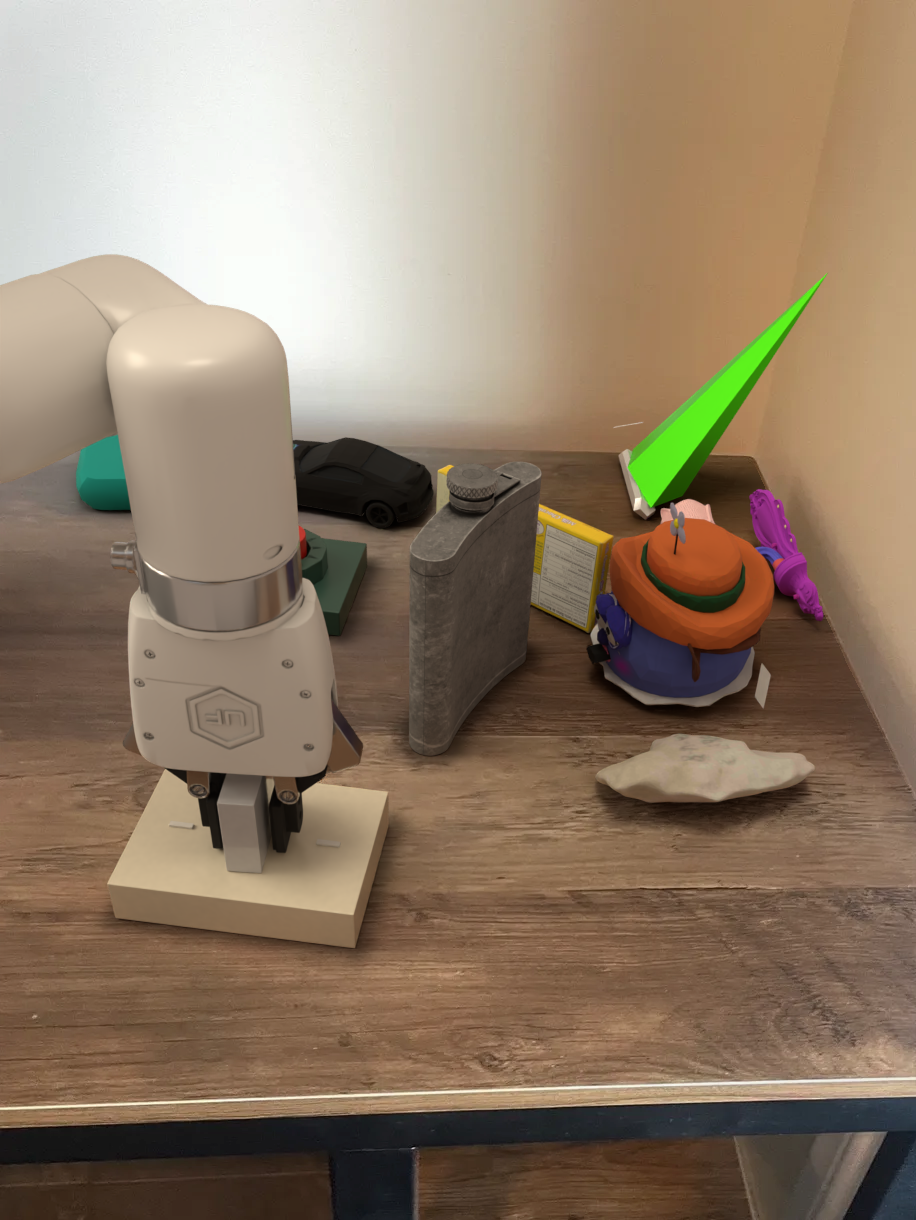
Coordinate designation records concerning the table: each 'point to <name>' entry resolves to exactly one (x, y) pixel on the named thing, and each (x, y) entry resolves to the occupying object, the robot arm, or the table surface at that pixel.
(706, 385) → the paper cone
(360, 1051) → the table surface
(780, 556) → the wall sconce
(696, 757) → the stone tool
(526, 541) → the flask
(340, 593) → the button box
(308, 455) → the toy car
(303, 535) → the button
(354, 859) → the block
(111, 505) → the spray bottle
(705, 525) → the toy
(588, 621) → the candy box
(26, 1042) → the table surface
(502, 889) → the table surface
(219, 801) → the tap handle
